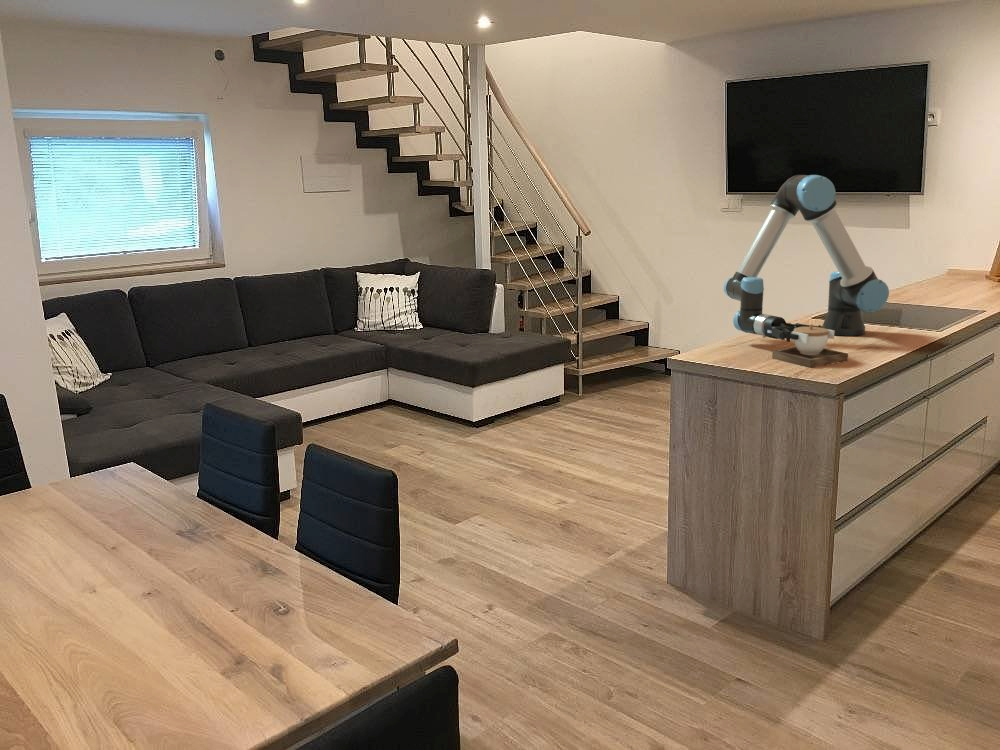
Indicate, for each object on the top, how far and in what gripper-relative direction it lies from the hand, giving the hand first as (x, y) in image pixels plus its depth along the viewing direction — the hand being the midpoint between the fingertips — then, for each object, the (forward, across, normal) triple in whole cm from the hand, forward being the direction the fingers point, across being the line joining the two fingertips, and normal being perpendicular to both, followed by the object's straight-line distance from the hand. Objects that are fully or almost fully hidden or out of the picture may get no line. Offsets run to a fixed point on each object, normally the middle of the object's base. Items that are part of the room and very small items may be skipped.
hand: (820, 336), depth 280 cm
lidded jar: (-4, 0, -6) cm, 7 cm away
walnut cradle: (-4, 0, -8) cm, 9 cm away
